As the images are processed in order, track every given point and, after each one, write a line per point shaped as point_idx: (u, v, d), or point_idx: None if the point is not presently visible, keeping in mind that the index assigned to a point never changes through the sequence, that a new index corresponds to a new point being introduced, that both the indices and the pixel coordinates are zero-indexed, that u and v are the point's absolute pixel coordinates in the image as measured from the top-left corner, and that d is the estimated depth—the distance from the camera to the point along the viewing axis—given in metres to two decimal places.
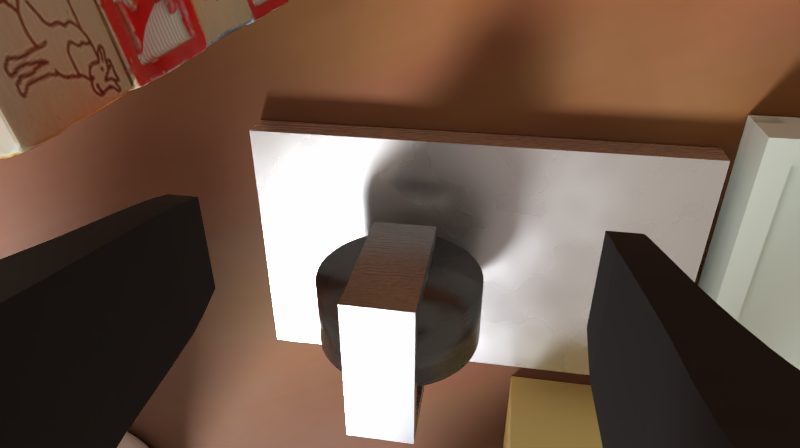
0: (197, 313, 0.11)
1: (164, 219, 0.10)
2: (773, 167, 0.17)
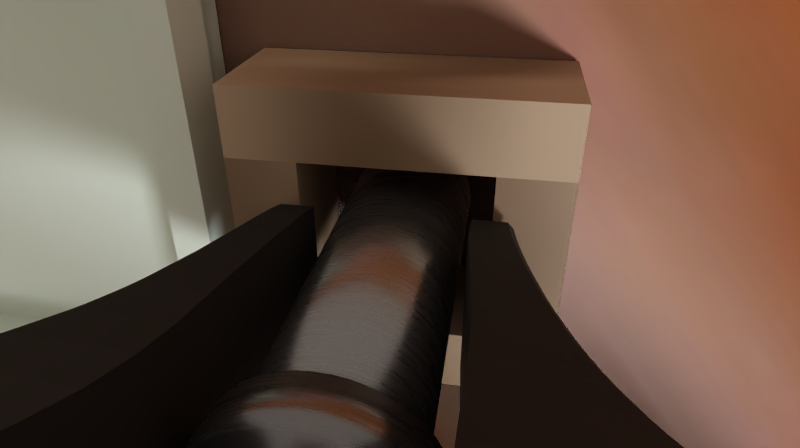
0: None
1: (290, 230, 0.10)
2: None
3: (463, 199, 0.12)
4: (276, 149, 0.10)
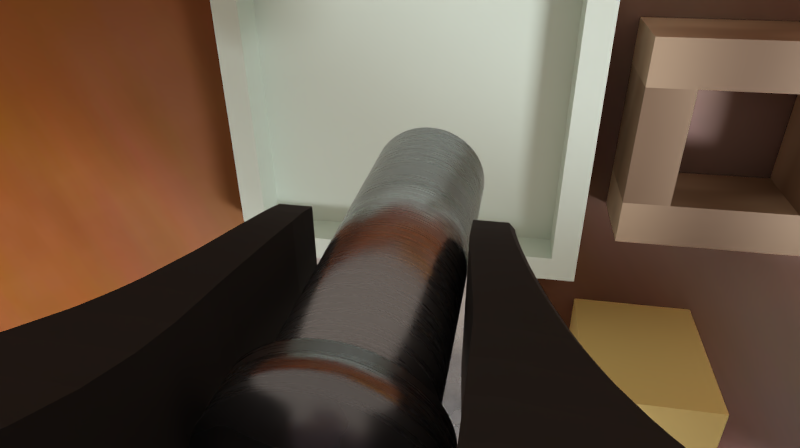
0: None
1: (289, 230, 0.10)
2: None
3: (476, 182, 0.12)
4: (687, 80, 0.16)
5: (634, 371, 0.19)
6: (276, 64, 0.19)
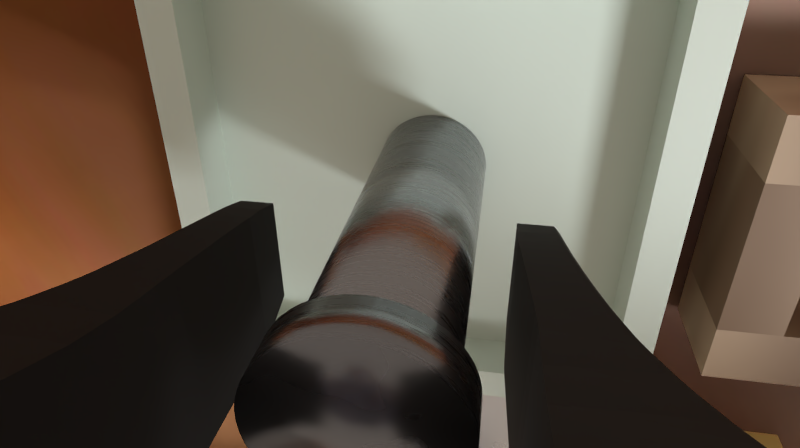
0: (270, 321, 0.11)
1: (246, 226, 0.10)
2: None
3: (480, 165, 0.13)
4: None
5: None
6: (241, 128, 0.14)
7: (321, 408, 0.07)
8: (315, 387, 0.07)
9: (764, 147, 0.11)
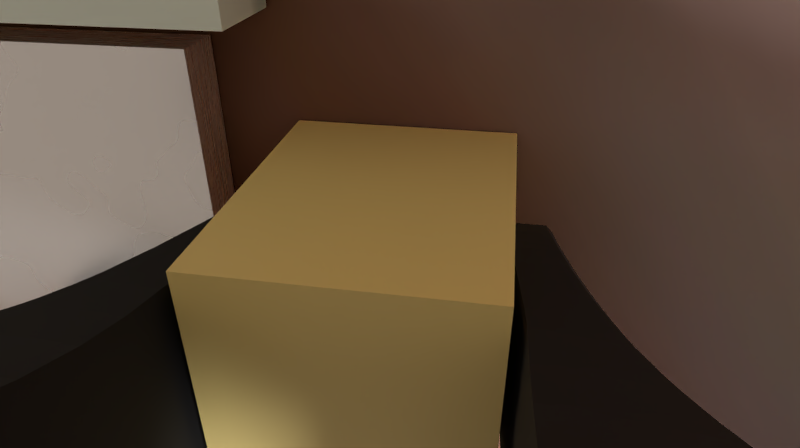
0: None
1: None
2: None
3: None
4: None
5: (330, 223, 0.08)
6: None
7: None
8: None
9: None
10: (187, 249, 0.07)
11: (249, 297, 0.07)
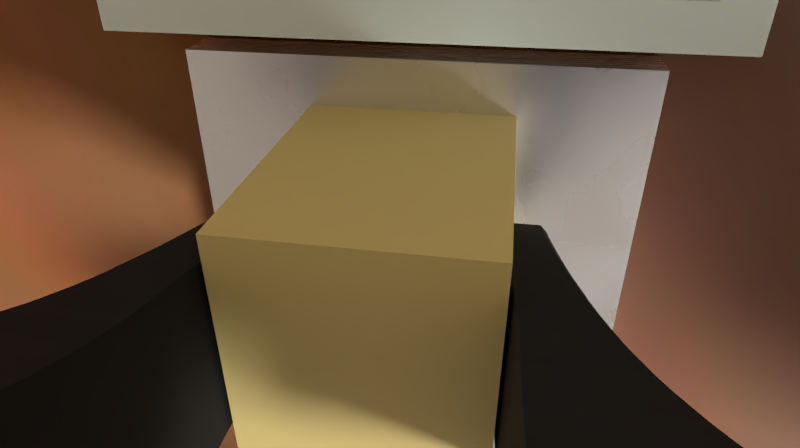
0: None
1: None
2: (143, 11, 0.11)
3: None
4: None
5: (343, 194, 0.09)
6: None
7: None
8: None
9: None
10: (214, 215, 0.08)
11: (272, 257, 0.08)
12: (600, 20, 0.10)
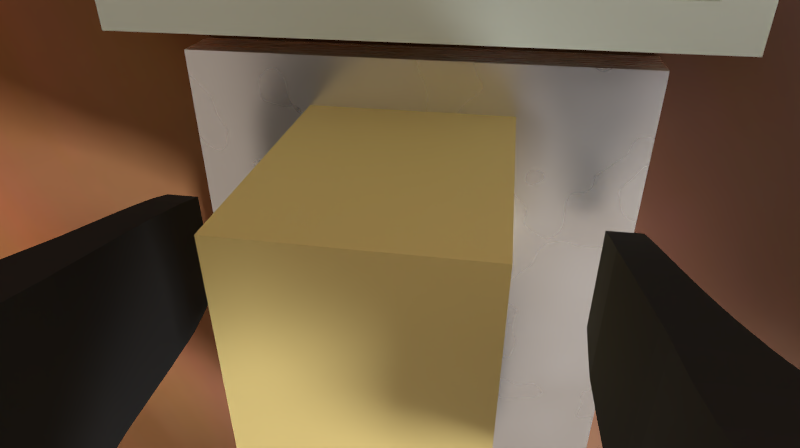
0: (197, 312, 0.11)
1: (164, 219, 0.10)
2: (142, 11, 0.11)
3: None
4: None
5: (342, 194, 0.09)
6: None
7: None
8: None
9: None
10: (212, 216, 0.08)
11: (271, 257, 0.08)
12: (600, 20, 0.10)
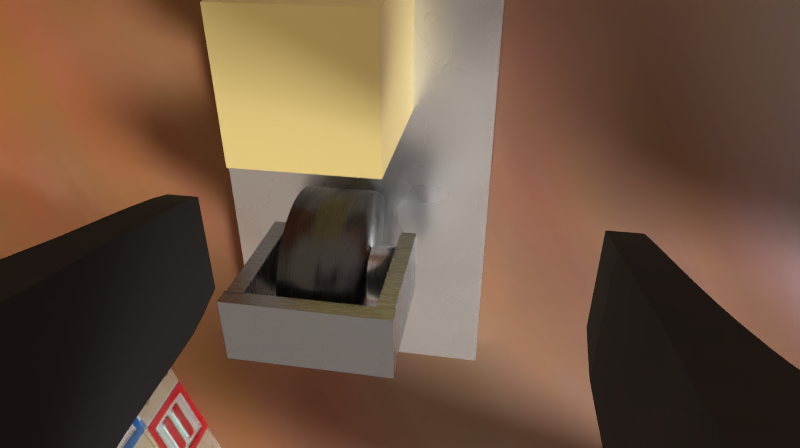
0: (198, 312, 0.11)
1: (164, 219, 0.10)
2: None
3: None
4: None
5: None
6: None
7: None
8: None
9: None
10: None
11: (244, 14, 0.13)
12: None
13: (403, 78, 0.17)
